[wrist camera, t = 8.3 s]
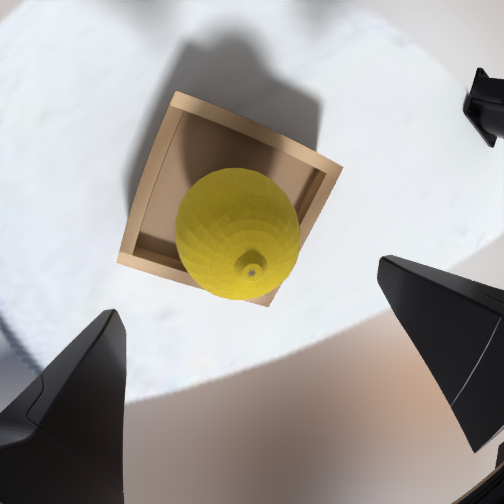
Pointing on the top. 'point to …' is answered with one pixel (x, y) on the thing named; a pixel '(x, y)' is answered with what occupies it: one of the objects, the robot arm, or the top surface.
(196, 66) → the top surface
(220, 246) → the lemon
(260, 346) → the top surface
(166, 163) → the tan open box
